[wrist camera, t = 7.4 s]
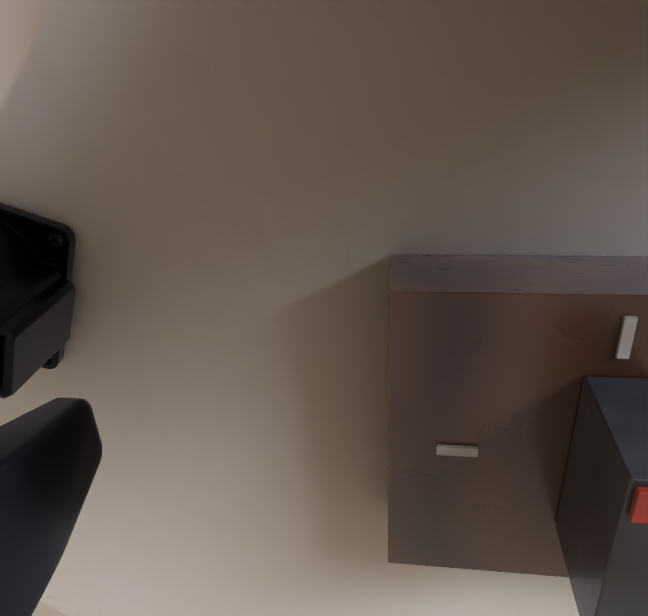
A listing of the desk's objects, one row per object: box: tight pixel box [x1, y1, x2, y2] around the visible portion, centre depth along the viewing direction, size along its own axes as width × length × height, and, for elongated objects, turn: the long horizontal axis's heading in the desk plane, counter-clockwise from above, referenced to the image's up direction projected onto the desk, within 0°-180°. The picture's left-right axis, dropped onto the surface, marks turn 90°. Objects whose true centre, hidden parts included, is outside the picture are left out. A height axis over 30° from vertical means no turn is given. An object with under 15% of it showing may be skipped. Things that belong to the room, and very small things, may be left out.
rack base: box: [388, 255, 648, 577], centre depth 21 cm, size 14×12×3 cm
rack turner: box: [555, 376, 648, 616], centre depth 17 cm, size 6×2×5 cm, turn 2°
